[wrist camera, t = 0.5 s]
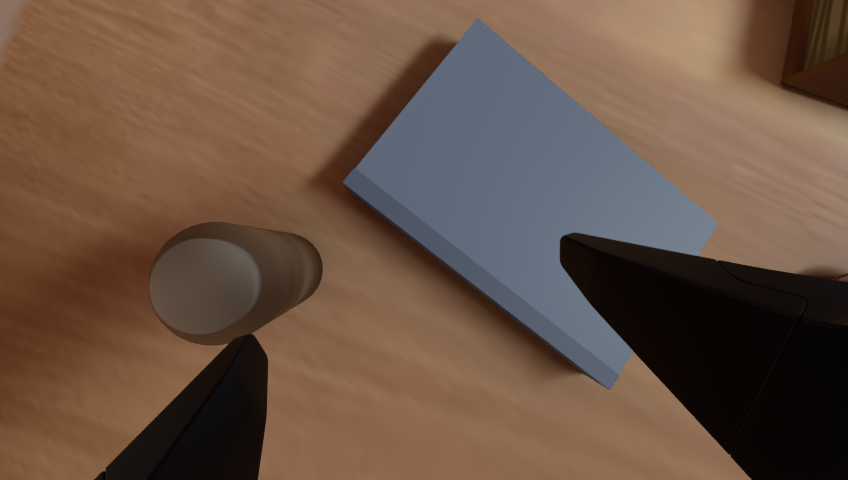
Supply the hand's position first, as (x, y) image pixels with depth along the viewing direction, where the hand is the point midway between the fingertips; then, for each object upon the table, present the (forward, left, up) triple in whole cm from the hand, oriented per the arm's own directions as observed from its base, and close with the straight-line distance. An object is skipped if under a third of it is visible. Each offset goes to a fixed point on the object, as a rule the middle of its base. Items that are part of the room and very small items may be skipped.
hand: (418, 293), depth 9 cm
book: (+9, -5, -14) cm, 18 cm away
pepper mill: (-5, +6, -14) cm, 16 cm away
